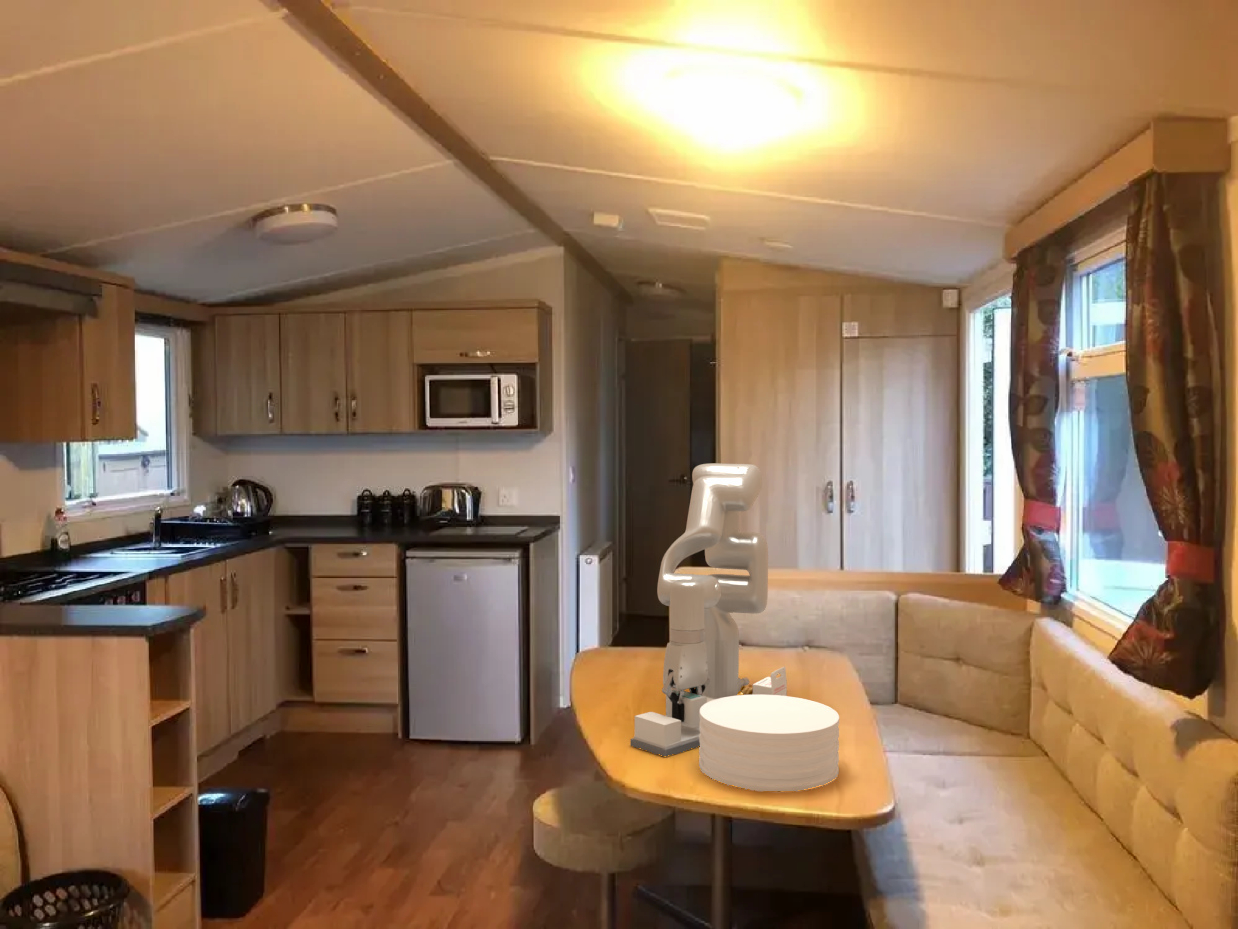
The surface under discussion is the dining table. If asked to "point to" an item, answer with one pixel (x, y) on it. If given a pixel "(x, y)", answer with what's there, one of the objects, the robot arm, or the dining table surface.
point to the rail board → (664, 734)
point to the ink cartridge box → (772, 684)
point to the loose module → (688, 708)
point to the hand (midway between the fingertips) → (686, 717)
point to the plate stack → (769, 742)
